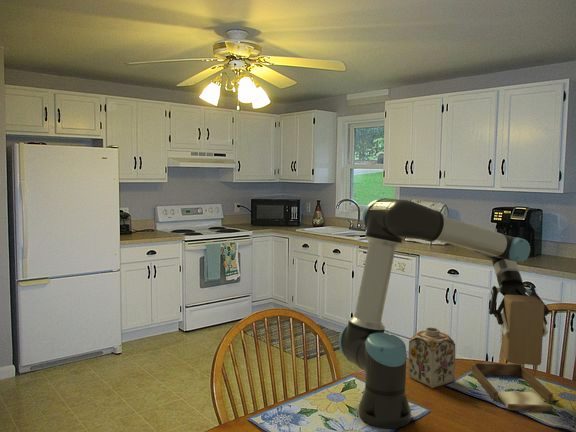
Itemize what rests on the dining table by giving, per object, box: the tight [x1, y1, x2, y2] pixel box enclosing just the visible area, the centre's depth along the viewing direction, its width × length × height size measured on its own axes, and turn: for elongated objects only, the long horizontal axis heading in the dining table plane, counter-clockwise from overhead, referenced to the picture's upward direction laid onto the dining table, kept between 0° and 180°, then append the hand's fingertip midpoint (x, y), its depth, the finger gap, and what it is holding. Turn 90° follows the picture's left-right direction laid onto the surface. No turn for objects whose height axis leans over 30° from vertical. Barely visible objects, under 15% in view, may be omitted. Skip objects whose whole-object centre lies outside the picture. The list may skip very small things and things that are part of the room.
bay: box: [471, 362, 554, 413], centre depth 160 cm, size 18×28×4 cm, turn 176°
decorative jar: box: [407, 326, 456, 389], centre depth 169 cm, size 12×12×18 cm
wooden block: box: [500, 295, 545, 366], centre depth 154 cm, size 10×10×20 cm
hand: (525, 334), depth 151 cm, fingers closed on wooden block, 11 cm apart
